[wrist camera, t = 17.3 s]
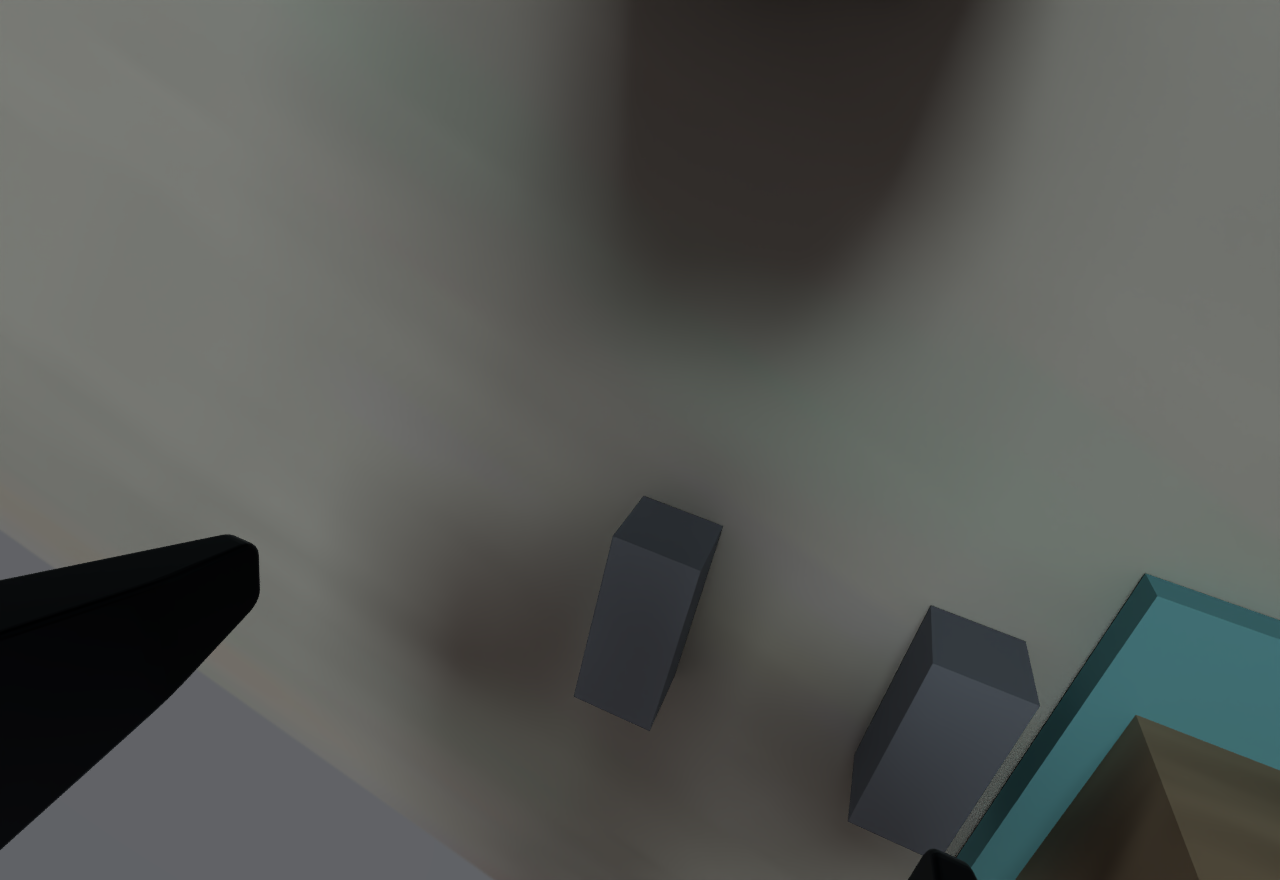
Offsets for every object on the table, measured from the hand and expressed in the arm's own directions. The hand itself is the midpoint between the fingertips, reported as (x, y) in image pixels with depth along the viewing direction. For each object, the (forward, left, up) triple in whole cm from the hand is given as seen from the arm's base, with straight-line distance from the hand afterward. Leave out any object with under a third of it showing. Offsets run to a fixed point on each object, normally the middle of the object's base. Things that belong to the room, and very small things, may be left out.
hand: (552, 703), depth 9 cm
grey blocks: (+7, +3, -12) cm, 14 cm away
